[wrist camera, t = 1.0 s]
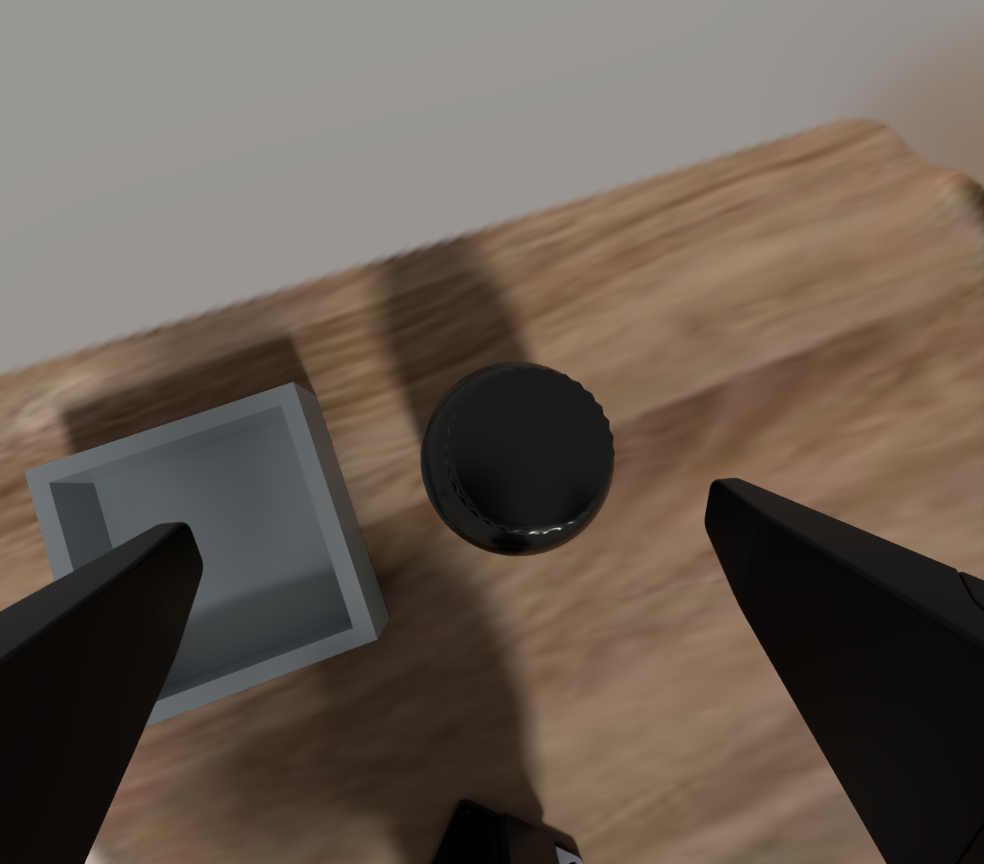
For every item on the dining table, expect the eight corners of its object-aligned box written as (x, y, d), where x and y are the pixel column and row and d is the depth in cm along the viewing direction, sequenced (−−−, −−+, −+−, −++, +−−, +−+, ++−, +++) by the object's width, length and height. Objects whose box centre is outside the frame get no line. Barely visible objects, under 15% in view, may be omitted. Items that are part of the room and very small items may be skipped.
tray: (389, 618, 25) (377, 639, 22) (151, 707, 25) (99, 744, 21) (316, 395, 26) (293, 381, 23) (84, 473, 26) (24, 470, 22)
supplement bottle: (469, 559, 26) (473, 619, 14) (411, 434, 26) (367, 390, 15) (592, 498, 27) (694, 507, 15) (532, 378, 27) (585, 292, 15)
